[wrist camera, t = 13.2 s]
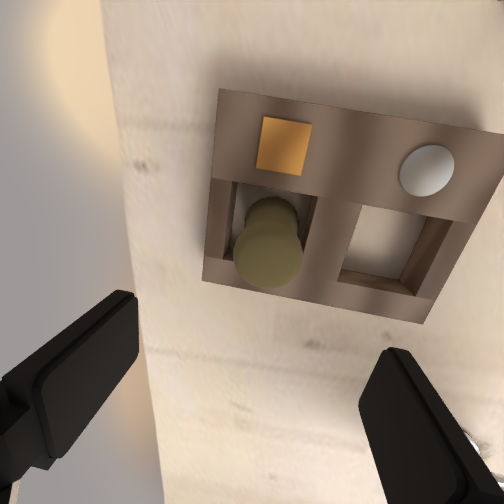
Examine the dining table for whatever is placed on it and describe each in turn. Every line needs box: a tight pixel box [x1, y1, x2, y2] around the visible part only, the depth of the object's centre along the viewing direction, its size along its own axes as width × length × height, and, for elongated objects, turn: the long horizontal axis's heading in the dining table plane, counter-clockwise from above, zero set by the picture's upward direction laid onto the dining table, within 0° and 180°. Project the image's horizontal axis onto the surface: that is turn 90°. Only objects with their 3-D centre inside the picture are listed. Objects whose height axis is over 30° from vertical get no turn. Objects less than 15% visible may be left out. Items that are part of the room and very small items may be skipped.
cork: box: [233, 197, 303, 289], centre depth 21 cm, size 6×6×11 cm
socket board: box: [202, 88, 504, 324], centre depth 24 cm, size 24×18×4 cm
